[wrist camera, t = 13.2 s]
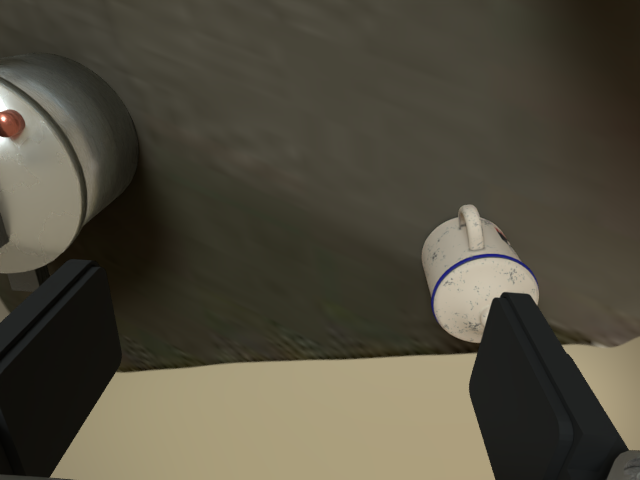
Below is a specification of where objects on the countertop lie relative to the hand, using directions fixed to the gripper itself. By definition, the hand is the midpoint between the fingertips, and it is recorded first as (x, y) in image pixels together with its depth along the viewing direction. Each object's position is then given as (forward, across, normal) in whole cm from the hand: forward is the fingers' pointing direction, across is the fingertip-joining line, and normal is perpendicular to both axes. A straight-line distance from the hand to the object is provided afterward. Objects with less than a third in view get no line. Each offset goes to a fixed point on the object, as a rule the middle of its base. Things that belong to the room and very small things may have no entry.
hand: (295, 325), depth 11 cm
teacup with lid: (+34, -14, +14) cm, 39 cm away
